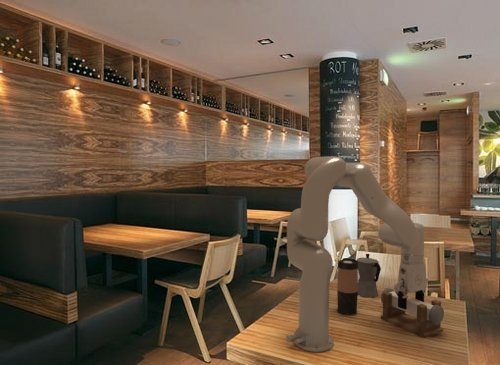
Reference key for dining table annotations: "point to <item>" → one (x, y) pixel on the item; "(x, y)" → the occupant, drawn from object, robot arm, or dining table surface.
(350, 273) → the travel mug
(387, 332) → the dining table surface
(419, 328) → the walnut rack
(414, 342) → the dining table surface
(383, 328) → the dining table surface
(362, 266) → the coffeepot
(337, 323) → the dining table surface
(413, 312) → the white bar grey caps
